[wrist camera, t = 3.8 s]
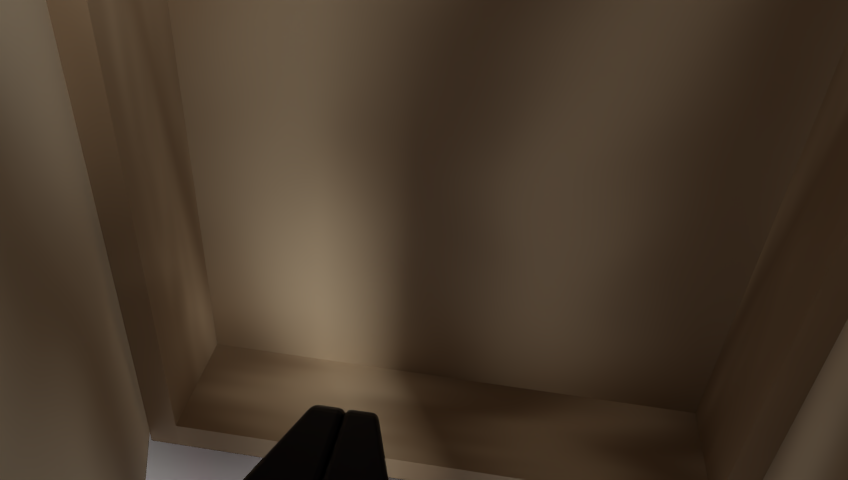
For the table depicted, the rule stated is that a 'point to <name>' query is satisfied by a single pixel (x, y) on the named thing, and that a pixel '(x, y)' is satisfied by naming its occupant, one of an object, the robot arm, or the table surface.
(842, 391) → the flap
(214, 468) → the table surface
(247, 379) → the carton
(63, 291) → the flap
